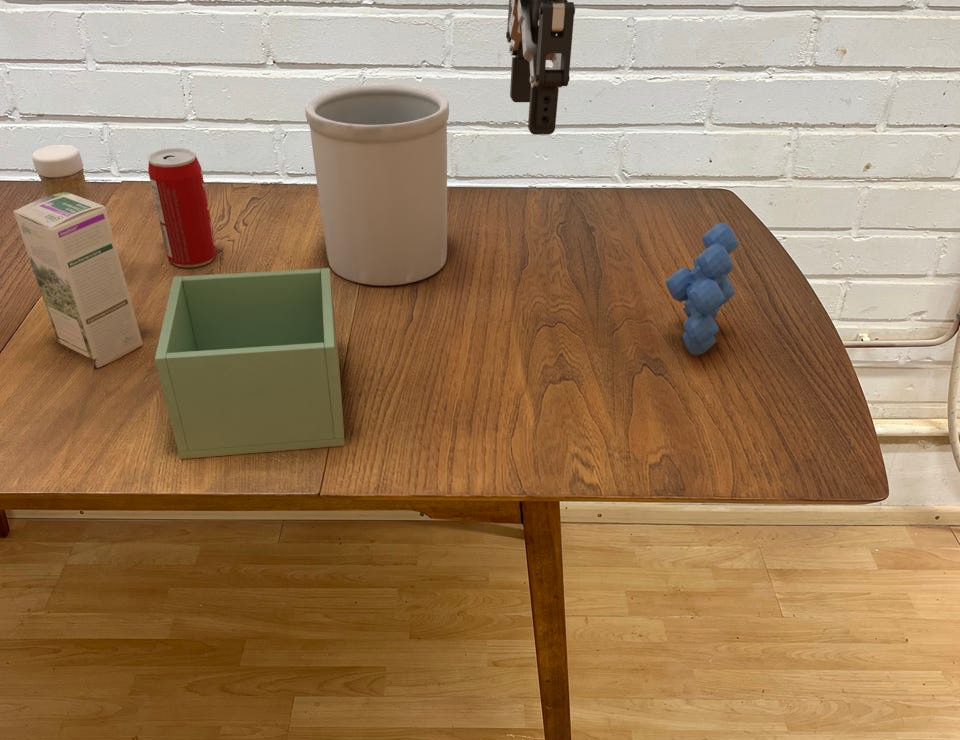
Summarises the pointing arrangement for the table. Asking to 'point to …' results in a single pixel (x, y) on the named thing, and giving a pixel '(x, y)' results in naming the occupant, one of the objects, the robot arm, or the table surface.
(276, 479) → the table surface
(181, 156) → the soda can
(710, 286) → the grapes
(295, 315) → the bin
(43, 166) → the sprinkles bottle
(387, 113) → the utensil holder
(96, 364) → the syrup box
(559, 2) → the robot arm
